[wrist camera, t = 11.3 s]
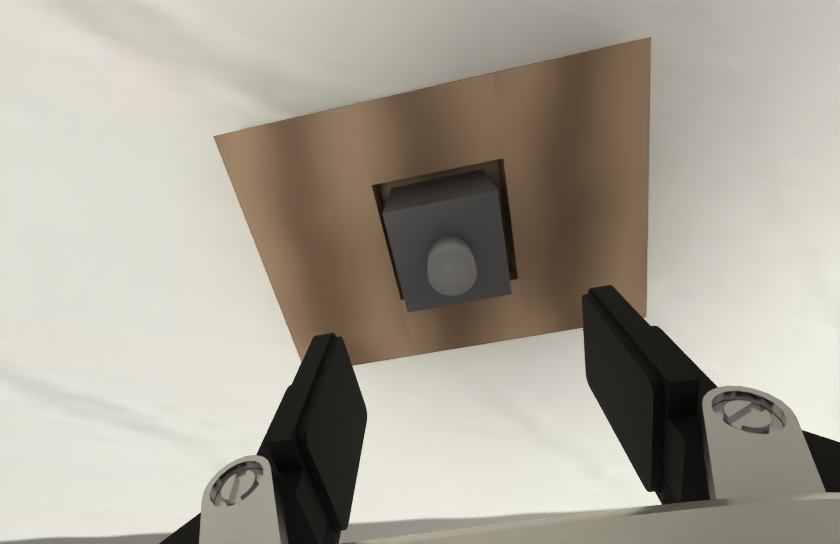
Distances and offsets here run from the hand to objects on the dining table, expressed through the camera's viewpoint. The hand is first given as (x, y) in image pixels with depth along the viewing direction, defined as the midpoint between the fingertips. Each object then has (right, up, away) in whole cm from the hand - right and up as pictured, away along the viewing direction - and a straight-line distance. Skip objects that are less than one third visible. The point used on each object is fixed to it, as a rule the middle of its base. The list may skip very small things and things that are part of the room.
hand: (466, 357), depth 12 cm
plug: (0, +5, +12) cm, 13 cm away
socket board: (0, +6, +12) cm, 14 cm away
